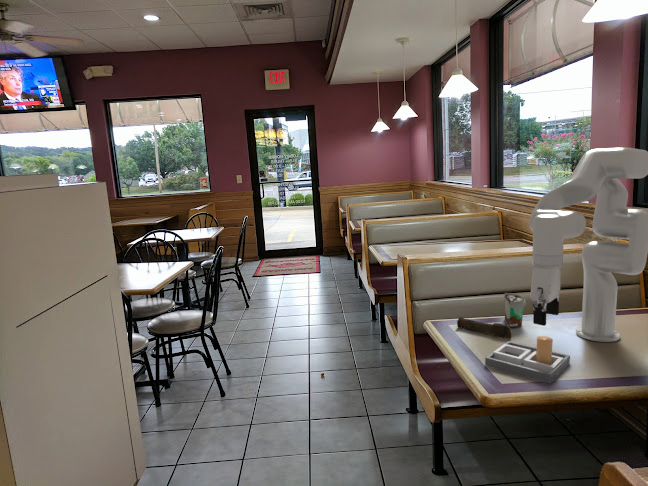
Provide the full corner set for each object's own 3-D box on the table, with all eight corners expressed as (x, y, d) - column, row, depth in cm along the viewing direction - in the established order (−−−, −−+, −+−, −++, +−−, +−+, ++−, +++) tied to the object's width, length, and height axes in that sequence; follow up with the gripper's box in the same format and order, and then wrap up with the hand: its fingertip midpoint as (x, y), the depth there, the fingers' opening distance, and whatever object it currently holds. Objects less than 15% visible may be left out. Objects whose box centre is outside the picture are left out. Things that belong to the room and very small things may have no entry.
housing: (508, 348, 148) (508, 339, 147) (569, 363, 135) (570, 353, 135) (485, 365, 136) (485, 355, 136) (549, 383, 124) (550, 373, 123)
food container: (528, 330, 162) (529, 302, 160) (510, 329, 163) (510, 302, 162) (521, 318, 174) (522, 292, 172) (503, 318, 175) (504, 292, 173)
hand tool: (456, 329, 167) (456, 316, 166) (461, 326, 170) (462, 313, 169) (507, 342, 153) (507, 328, 153) (512, 338, 156) (513, 325, 155)
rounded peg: (539, 361, 135) (539, 335, 134) (553, 364, 133) (554, 338, 131) (533, 365, 133) (534, 339, 131) (548, 369, 130) (549, 342, 128)
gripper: (544, 252, 136) (543, 308, 139) (520, 264, 124) (520, 325, 127) (572, 254, 131) (570, 312, 134) (550, 268, 119) (549, 331, 122)
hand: (546, 319), depth 131 cm, fingers open, 9 cm apart
